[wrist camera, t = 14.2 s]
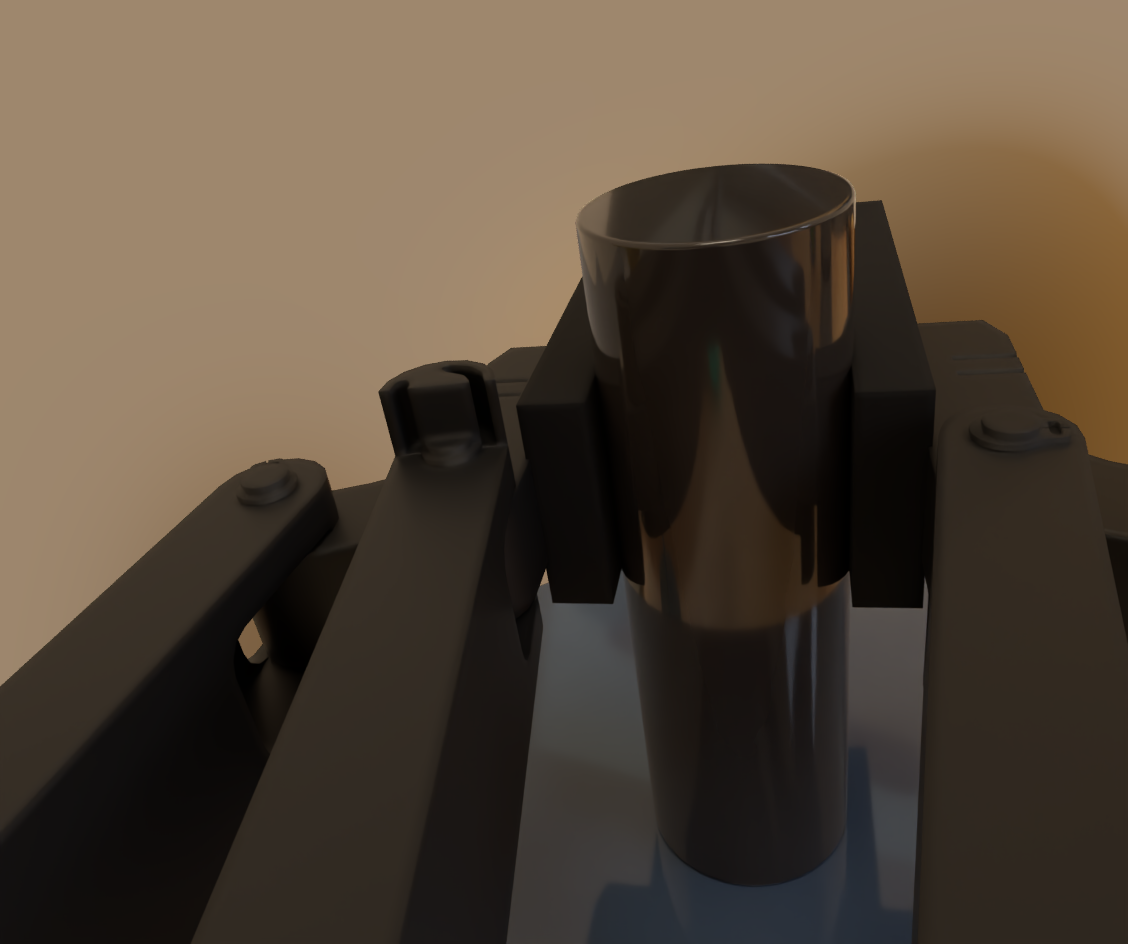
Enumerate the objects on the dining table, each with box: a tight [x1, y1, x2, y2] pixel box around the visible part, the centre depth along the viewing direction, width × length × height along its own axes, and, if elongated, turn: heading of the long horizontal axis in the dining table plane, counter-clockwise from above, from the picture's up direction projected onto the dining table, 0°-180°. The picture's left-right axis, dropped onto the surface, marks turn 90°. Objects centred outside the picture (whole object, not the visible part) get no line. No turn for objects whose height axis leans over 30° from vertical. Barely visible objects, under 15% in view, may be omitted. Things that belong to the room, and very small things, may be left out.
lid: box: [506, 164, 928, 944], centre depth 12 cm, size 14×14×10 cm
